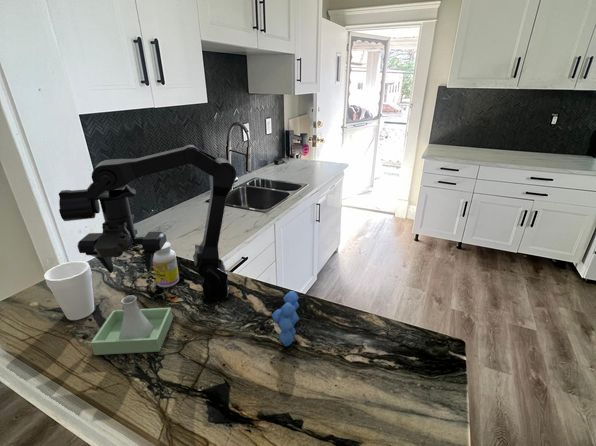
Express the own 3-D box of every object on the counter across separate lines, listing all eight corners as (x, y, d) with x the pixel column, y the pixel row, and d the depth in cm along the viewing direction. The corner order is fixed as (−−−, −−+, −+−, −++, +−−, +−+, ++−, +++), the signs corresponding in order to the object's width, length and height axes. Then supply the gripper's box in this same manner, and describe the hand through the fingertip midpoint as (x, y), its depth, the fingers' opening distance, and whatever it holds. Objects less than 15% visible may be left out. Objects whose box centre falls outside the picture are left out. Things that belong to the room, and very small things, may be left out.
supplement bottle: (151, 283, 96) (144, 246, 91) (170, 274, 101) (164, 238, 96) (166, 290, 93) (159, 252, 88) (184, 280, 98) (178, 243, 93)
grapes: (277, 319, 82) (276, 280, 78) (302, 322, 81) (303, 283, 77) (265, 352, 72) (264, 310, 67) (294, 356, 71) (295, 313, 66)
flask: (140, 346, 72) (131, 311, 68) (112, 341, 73) (103, 306, 69) (159, 325, 79) (152, 292, 75) (133, 321, 80) (125, 288, 76)
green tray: (173, 318, 82) (171, 307, 80) (159, 351, 72) (157, 339, 70) (116, 321, 81) (113, 310, 79) (94, 355, 70) (90, 342, 69)
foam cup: (50, 318, 81) (35, 275, 76) (84, 298, 89) (72, 258, 84) (75, 328, 78) (61, 284, 73) (108, 306, 86) (97, 265, 81)
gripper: (54, 229, 66) (74, 291, 72) (146, 227, 68) (158, 288, 74) (82, 211, 76) (98, 266, 82) (162, 209, 78) (171, 264, 84)
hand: (130, 271), depth 80 cm, fingers open, 9 cm apart
